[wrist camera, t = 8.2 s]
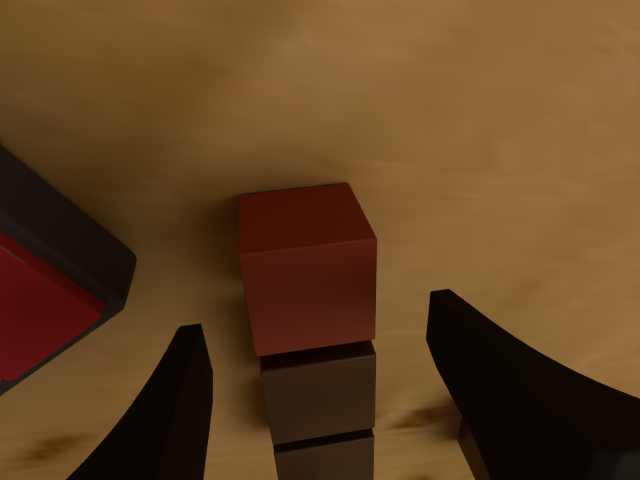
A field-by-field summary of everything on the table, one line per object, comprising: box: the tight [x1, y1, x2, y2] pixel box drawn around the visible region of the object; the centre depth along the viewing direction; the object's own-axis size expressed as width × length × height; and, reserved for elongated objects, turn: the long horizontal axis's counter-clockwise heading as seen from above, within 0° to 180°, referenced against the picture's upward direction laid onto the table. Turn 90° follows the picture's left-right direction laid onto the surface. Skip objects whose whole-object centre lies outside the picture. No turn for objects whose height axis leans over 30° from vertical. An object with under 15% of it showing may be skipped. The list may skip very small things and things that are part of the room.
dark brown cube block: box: [273, 428, 374, 480], centre depth 22 cm, size 4×4×4 cm
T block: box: [259, 340, 376, 445], centre depth 20 cm, size 4×4×4 cm
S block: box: [238, 183, 377, 356], centre depth 17 cm, size 4×4×4 cm
